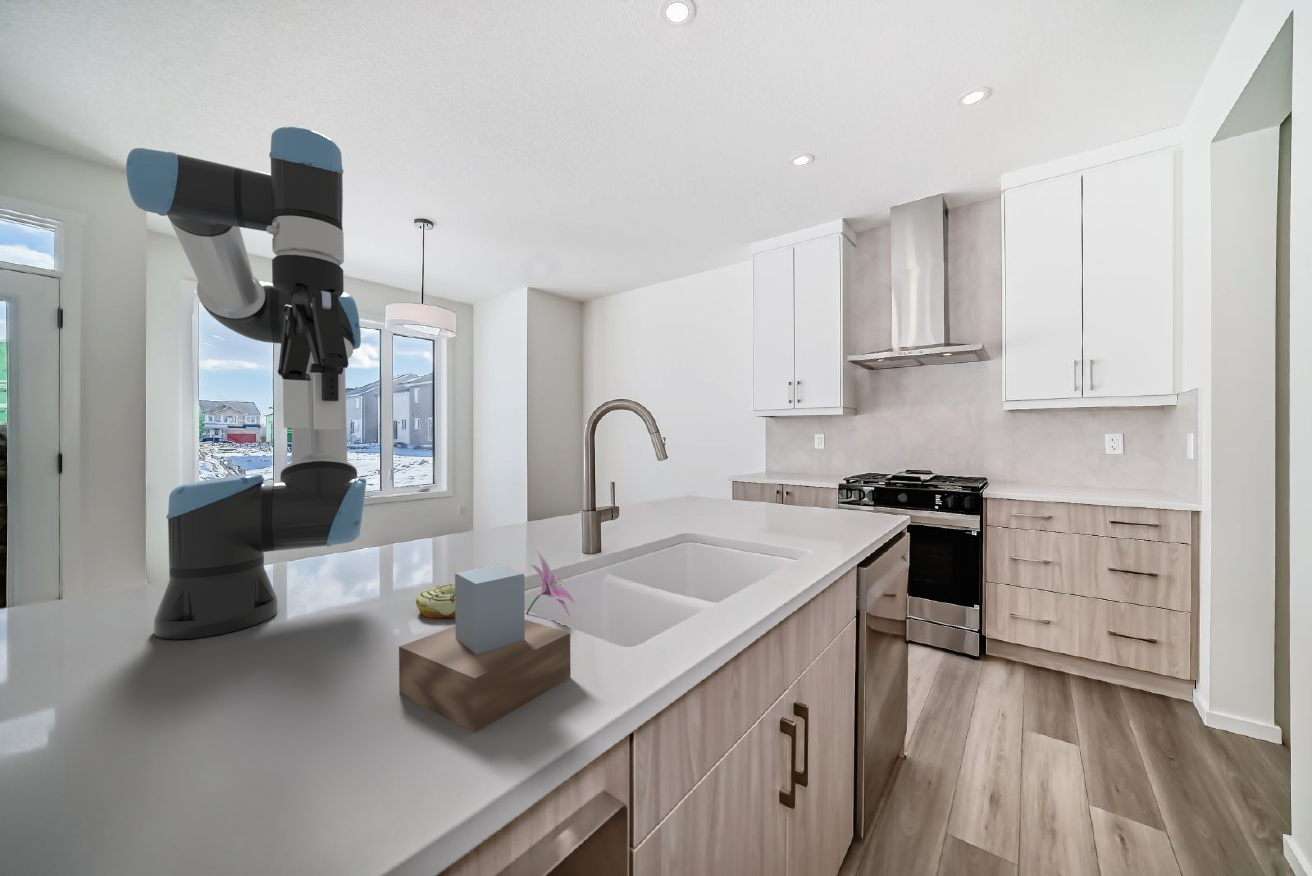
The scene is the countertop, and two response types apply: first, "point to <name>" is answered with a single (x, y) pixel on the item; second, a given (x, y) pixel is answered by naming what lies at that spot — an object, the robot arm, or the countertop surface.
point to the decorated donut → (437, 601)
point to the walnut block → (482, 674)
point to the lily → (551, 586)
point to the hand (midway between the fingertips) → (310, 428)
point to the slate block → (489, 607)
